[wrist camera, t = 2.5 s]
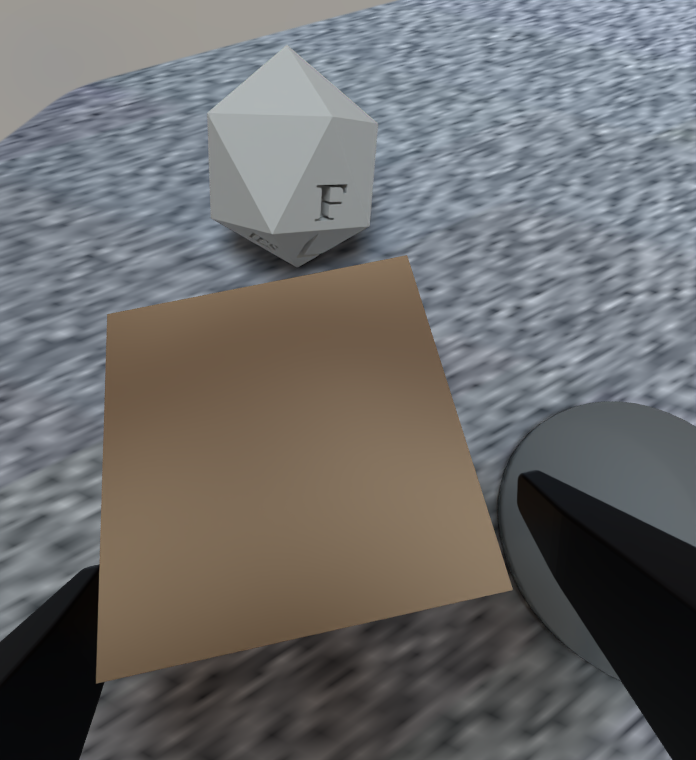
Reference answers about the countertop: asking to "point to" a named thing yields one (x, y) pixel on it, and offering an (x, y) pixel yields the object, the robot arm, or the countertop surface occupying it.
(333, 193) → the die
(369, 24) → the countertop surface
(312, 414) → the walnut block
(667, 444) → the slate coaster
